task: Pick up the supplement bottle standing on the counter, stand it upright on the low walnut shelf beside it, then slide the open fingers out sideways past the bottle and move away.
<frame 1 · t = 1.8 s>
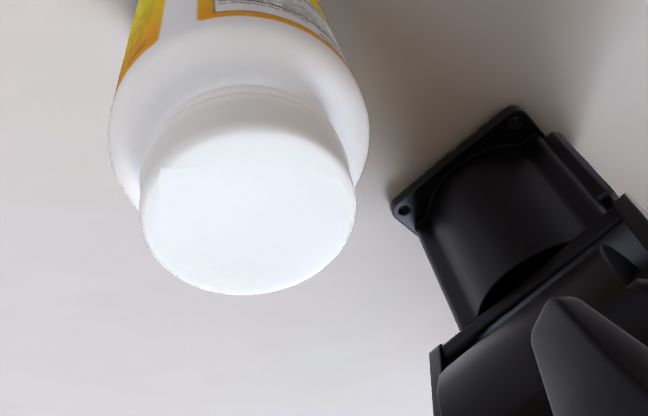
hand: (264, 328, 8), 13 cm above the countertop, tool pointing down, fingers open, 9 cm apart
supplement bottle: (230, 18, 19), on the countertop
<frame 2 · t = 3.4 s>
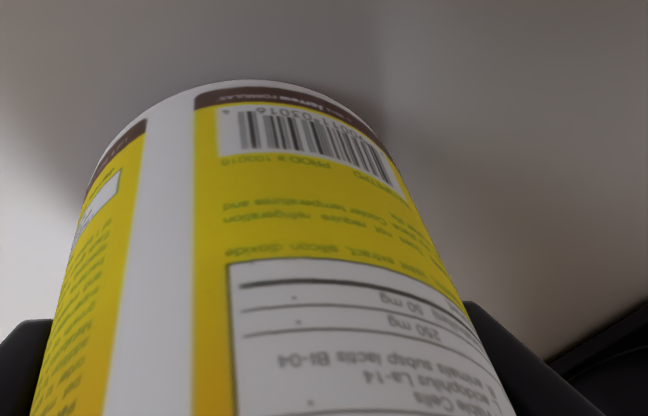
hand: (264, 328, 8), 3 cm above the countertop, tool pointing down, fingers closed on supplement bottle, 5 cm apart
supplement bottle: (249, 197, 11), on the countertop, touching gripper
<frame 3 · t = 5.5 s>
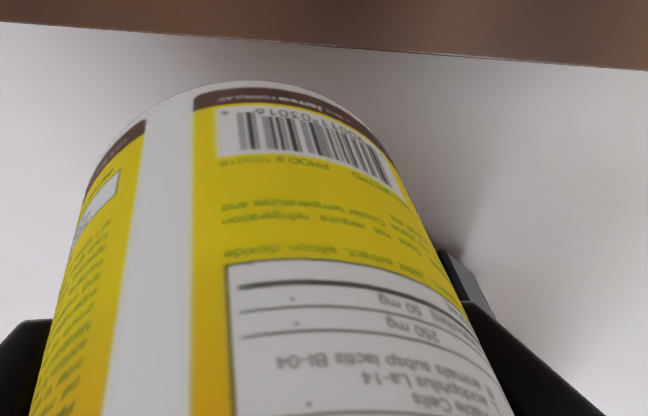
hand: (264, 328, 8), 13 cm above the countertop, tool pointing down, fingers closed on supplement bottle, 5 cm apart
supplement bottle: (248, 197, 11), point 10 cm above the countertop, touching gripper
when the fingers open (9 cm above the countertop, at t = 7.5 s): supplement bottle stays where it is, resting on shelf.
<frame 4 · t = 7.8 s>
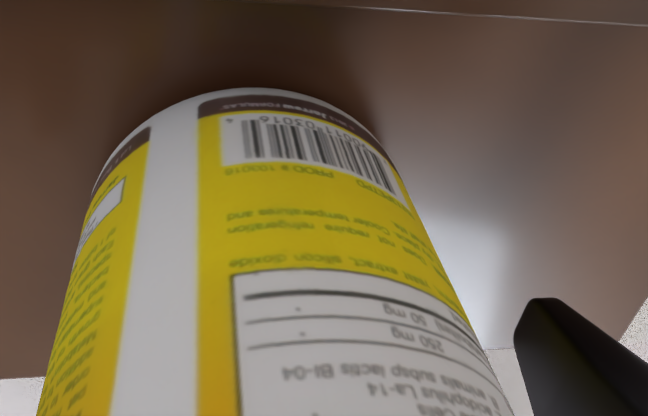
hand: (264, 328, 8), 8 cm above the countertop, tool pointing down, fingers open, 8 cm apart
supplement bottle: (251, 203, 11), point 5 cm above the countertop, touching shelf
shelf: (241, 69, 15), on the countertop
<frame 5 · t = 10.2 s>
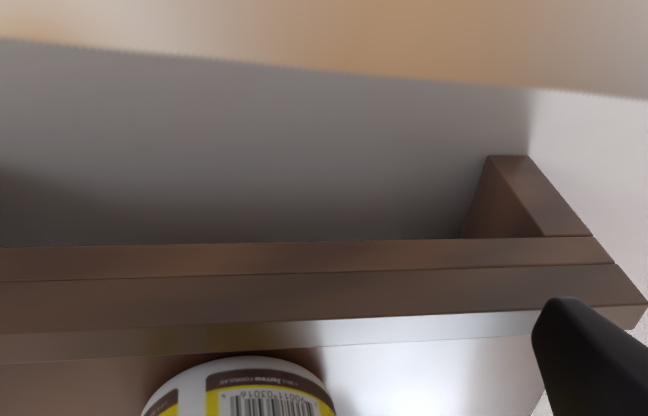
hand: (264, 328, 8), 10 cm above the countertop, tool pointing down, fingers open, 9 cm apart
supplement bottle: (239, 400, 17), point 5 cm above the countertop, touching shelf
shelf: (234, 268, 21), on the countertop
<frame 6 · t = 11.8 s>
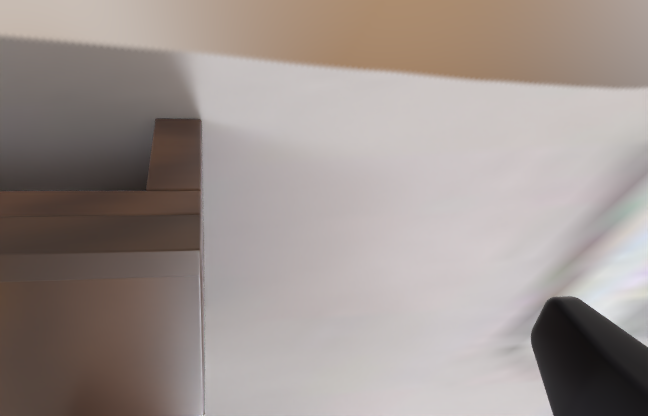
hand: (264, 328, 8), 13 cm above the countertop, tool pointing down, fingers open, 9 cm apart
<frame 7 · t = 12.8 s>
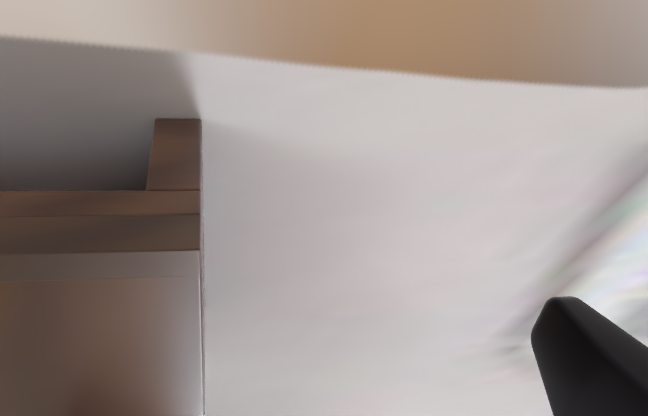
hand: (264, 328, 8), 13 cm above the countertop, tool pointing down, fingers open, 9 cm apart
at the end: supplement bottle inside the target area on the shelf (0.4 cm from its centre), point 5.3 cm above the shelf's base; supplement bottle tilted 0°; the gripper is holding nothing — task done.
